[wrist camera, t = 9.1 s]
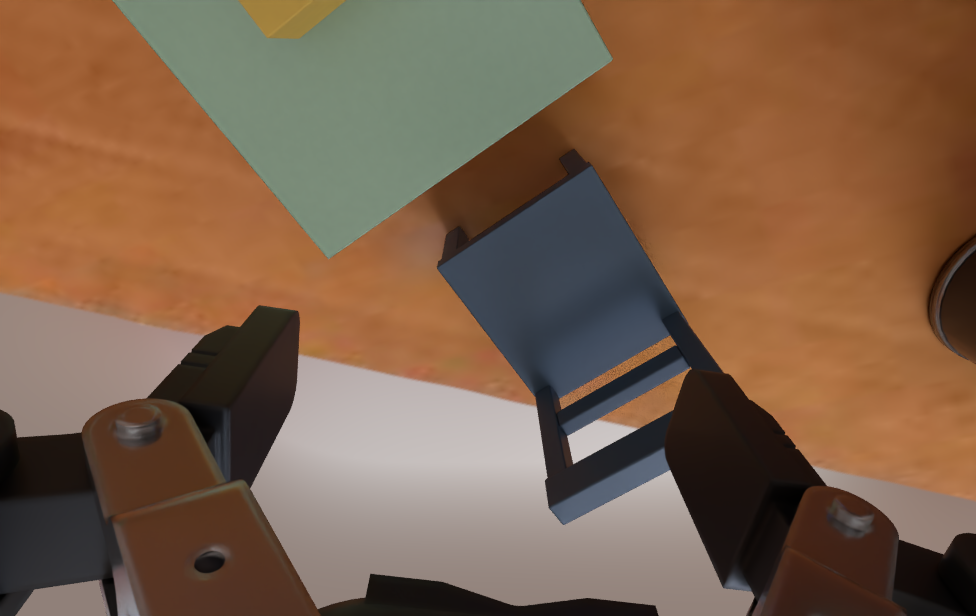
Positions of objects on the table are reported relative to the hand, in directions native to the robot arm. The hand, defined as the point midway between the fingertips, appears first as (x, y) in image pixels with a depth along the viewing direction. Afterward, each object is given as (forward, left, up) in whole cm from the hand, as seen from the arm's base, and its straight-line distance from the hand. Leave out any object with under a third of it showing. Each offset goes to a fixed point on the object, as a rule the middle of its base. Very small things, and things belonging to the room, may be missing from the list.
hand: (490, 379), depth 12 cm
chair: (-7, 0, -24) cm, 25 cm away
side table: (+9, 0, -24) cm, 25 cm away
